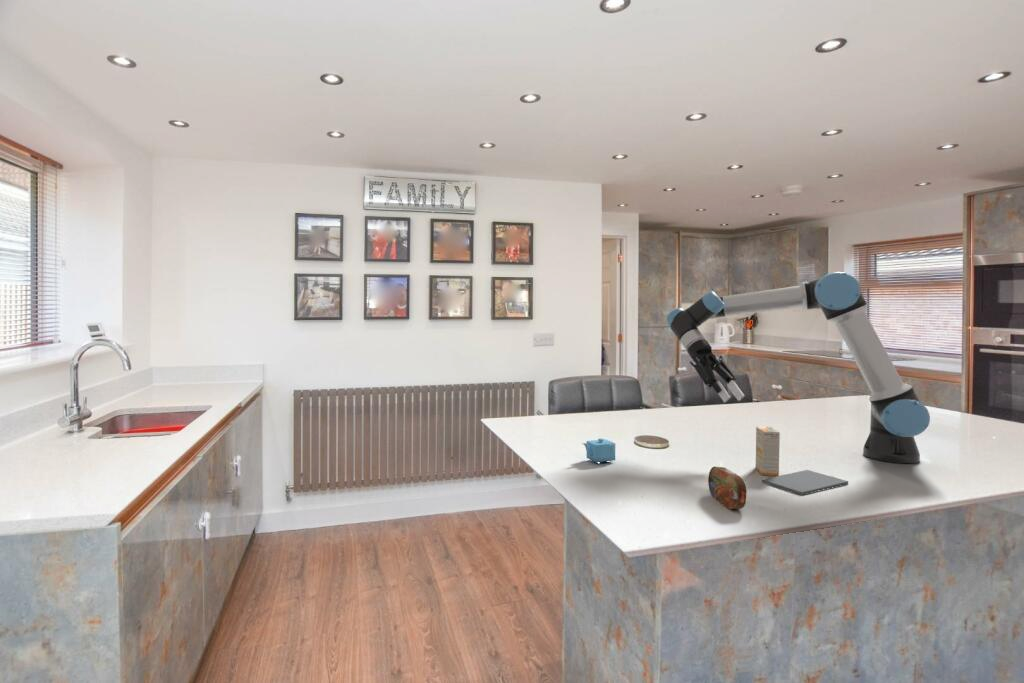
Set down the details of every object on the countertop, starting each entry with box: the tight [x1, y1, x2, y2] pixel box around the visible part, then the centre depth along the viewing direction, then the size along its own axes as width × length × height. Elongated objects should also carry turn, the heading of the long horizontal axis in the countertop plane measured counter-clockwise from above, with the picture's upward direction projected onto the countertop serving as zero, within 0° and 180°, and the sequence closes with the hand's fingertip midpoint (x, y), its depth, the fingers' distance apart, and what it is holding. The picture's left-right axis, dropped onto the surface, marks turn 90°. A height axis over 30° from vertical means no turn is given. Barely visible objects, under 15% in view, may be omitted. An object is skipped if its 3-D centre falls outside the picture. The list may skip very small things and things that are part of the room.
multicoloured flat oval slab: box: [707, 466, 748, 510], centre depth 130 cm, size 15×3×8 cm, turn 5°
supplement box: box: [755, 426, 781, 477], centre depth 156 cm, size 8×5×13 cm, turn 168°
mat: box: [761, 469, 849, 496], centre depth 146 cm, size 20×12×1 cm, turn 116°
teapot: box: [581, 438, 616, 463], centre depth 168 cm, size 12×6×8 cm, turn 111°
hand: (734, 398), depth 166 cm, fingers open, 6 cm apart
